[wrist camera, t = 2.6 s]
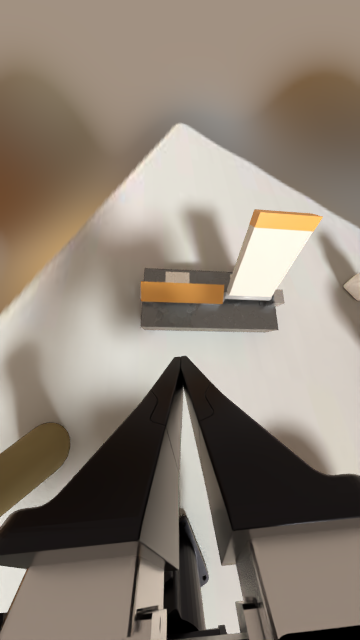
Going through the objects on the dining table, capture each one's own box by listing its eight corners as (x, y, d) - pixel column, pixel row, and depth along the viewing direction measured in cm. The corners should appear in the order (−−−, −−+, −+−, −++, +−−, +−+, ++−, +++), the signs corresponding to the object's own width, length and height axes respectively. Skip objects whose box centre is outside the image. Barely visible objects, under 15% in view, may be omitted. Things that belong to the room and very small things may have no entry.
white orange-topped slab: (269, 302, 21) (325, 217, 13) (224, 301, 20) (257, 212, 13) (265, 297, 22) (315, 213, 14) (222, 295, 21) (251, 209, 14)
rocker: (200, 299, 21) (226, 304, 11) (154, 298, 20) (136, 301, 10) (200, 289, 20) (228, 285, 10) (154, 288, 20) (136, 281, 10)
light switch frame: (265, 332, 24) (288, 327, 19) (144, 329, 23) (137, 324, 18) (259, 282, 26) (279, 267, 21) (147, 278, 25) (142, 261, 20)
